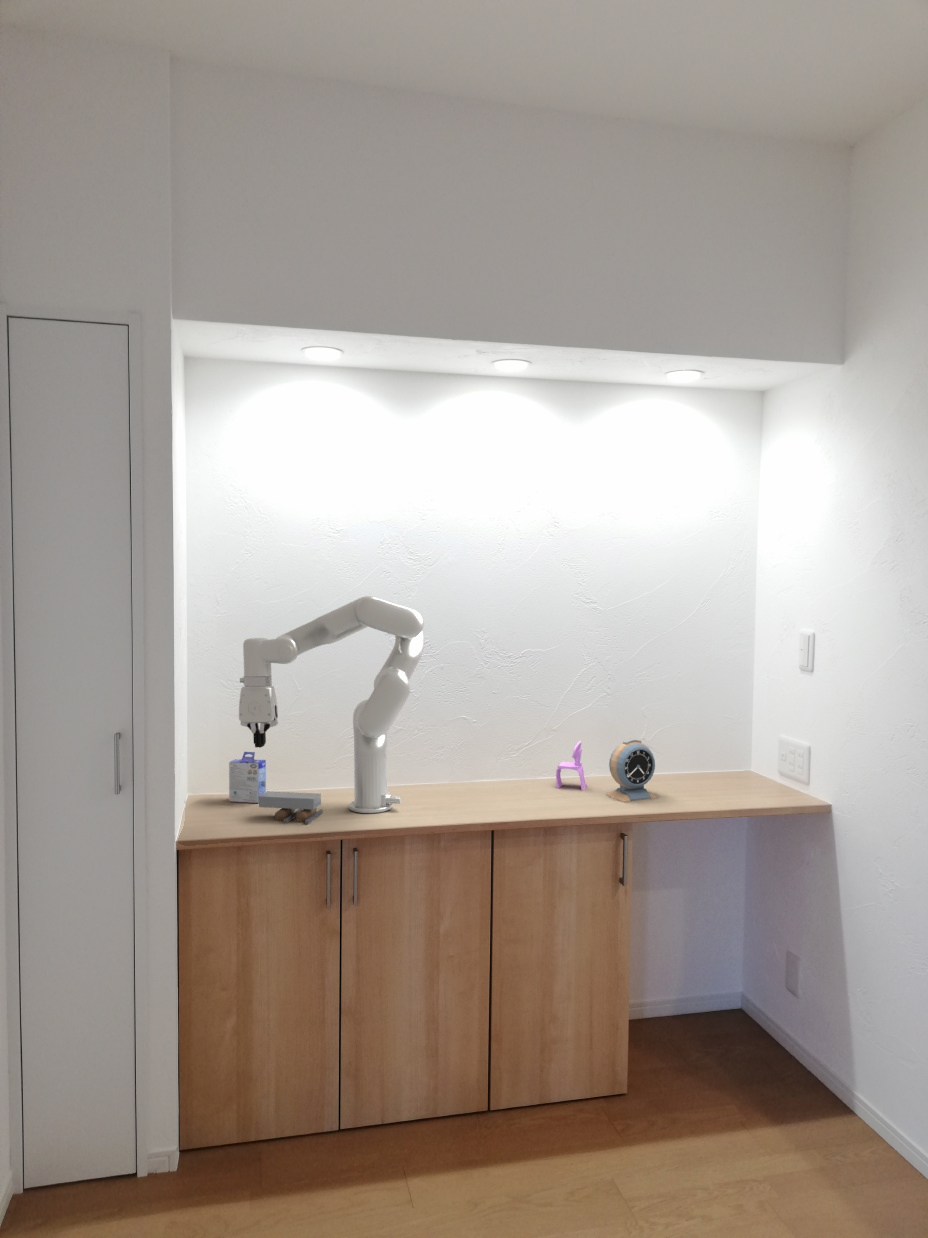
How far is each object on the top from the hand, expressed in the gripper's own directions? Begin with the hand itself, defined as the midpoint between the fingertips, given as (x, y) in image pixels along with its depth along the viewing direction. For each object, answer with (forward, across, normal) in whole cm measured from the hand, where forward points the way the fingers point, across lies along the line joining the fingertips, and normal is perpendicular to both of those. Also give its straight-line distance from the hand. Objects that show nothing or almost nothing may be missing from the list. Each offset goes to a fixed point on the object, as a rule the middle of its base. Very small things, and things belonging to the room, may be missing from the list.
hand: (259, 746), depth 249 cm
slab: (+16, +9, -1) cm, 19 cm away
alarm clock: (+22, +104, +38) cm, 113 cm away
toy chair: (+21, +85, +47) cm, 100 cm away
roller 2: (+20, +13, -2) cm, 24 cm away
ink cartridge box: (+20, -10, +14) cm, 26 cm away
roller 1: (+17, +7, -1) cm, 18 cm away
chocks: (+20, +13, -2) cm, 24 cm away
